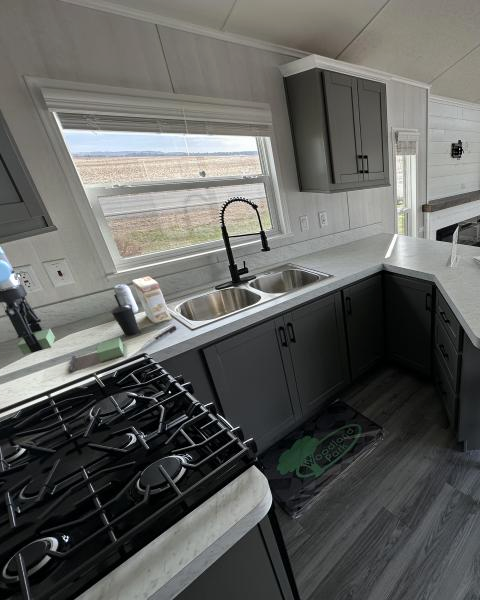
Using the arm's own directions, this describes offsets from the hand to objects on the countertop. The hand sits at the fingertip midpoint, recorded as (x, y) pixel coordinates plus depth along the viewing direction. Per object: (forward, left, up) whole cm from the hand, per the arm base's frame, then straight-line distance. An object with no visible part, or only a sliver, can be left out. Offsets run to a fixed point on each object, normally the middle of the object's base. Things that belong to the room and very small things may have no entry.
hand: (40, 345), depth 117 cm
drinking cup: (+24, +15, -13) cm, 31 cm away
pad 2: (+17, 0, -11) cm, 20 cm away
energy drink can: (+24, +44, -13) cm, 52 cm away
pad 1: (0, 0, 0) cm, 0 cm away
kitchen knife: (+33, +2, -13) cm, 35 cm away
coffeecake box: (+34, +27, -13) cm, 46 cm away
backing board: (+13, 0, -12) cm, 18 cm away
